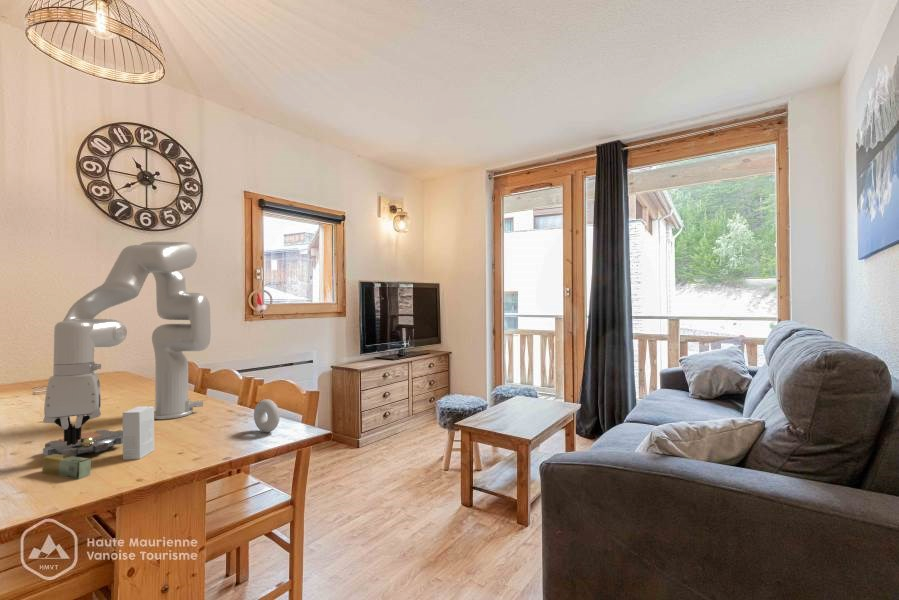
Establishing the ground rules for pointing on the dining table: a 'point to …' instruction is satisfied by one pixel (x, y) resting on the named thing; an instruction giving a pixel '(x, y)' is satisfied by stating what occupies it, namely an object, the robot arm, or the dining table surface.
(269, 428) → the donut
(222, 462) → the dining table surface
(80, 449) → the notched metal plate
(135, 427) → the skincare box
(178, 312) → the robot arm
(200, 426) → the dining table surface
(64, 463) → the medication box
